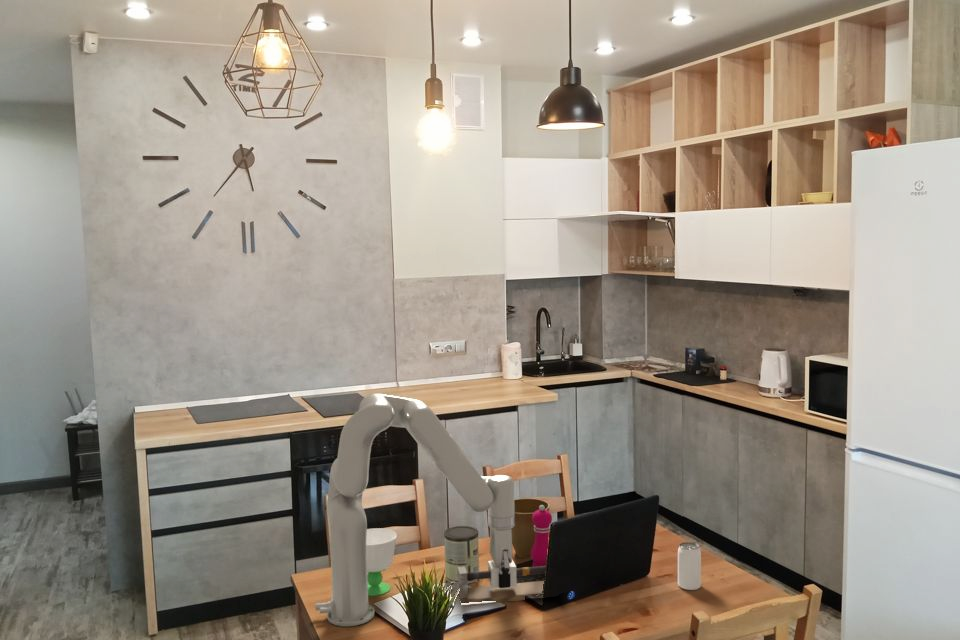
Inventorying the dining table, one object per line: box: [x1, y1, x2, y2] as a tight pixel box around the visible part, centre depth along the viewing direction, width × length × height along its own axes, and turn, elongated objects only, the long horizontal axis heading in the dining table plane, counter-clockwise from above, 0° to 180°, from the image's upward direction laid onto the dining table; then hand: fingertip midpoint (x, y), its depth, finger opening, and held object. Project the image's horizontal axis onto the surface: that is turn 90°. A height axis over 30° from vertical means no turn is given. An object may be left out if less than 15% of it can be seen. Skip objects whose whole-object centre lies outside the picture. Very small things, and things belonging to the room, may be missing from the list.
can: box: [677, 541, 702, 591], centre depth 230 cm, size 6×6×12 cm
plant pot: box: [511, 497, 550, 559], centre depth 256 cm, size 15×15×16 cm
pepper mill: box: [531, 505, 553, 567], centre depth 244 cm, size 7×7×20 cm
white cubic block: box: [487, 559, 518, 588], centre depth 226 cm, size 7×6×6 cm
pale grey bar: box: [457, 566, 546, 604], centre depth 226 cm, size 28×8×8 cm, turn 100°
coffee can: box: [443, 525, 480, 585], centre depth 239 cm, size 10×10×14 cm
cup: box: [366, 527, 398, 597], centre depth 232 cm, size 14×14×16 cm
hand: (502, 581), depth 226 cm, fingers closed on white cubic block, 5 cm apart
